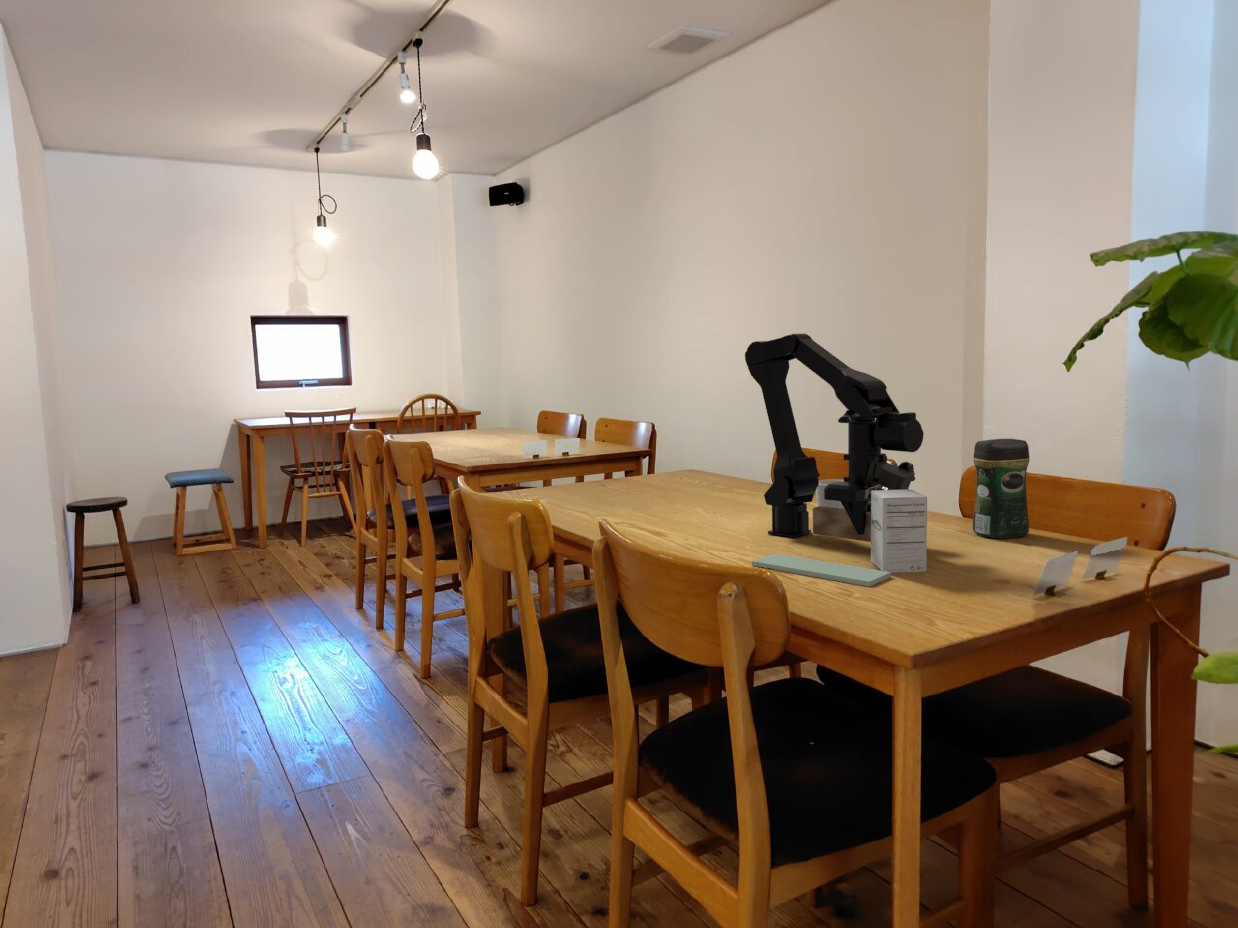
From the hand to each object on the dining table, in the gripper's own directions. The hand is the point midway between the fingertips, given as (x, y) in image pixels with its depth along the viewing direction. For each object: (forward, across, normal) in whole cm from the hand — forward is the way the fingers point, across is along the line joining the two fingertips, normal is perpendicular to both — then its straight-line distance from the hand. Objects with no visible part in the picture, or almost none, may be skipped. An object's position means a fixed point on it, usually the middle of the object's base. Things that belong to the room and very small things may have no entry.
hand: (864, 532), depth 153 cm
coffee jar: (+3, +25, -15) cm, 29 cm away
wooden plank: (+1, 0, 0) cm, 1 cm away
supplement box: (+3, -9, -11) cm, 14 cm away
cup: (+3, +21, +18) cm, 28 cm away
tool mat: (+3, -19, -2) cm, 19 cm away
